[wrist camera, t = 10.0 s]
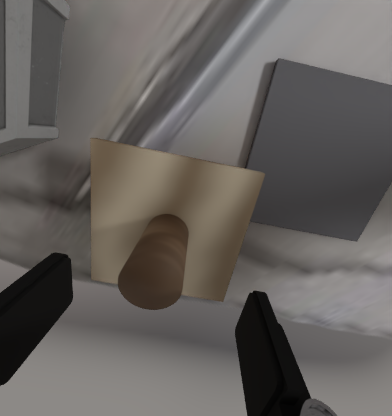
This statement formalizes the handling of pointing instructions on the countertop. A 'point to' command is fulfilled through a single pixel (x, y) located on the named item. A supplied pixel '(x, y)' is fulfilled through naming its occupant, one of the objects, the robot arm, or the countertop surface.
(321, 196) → the mat
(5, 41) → the first aid kit
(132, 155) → the cover
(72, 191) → the countertop surface
